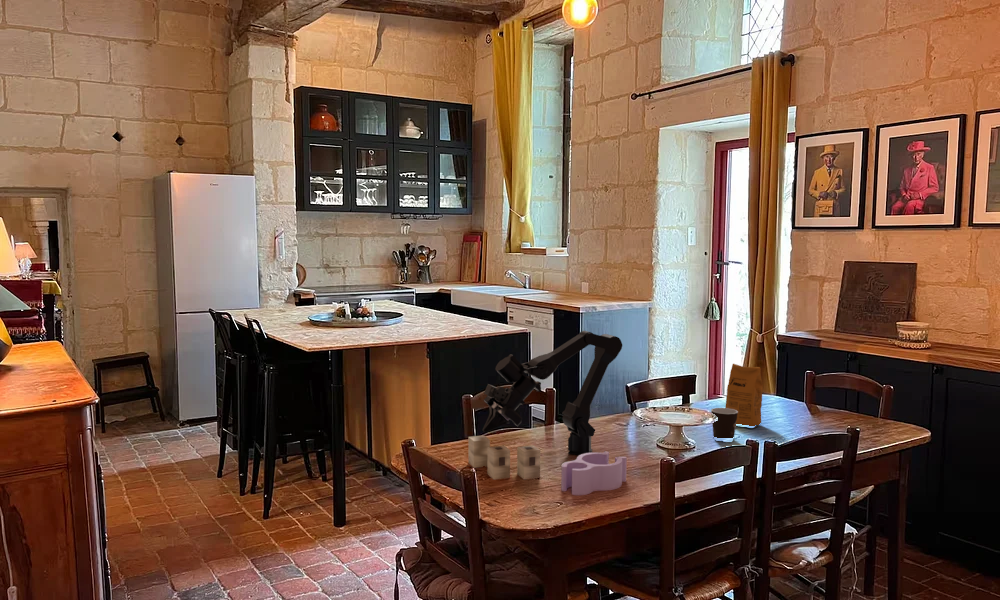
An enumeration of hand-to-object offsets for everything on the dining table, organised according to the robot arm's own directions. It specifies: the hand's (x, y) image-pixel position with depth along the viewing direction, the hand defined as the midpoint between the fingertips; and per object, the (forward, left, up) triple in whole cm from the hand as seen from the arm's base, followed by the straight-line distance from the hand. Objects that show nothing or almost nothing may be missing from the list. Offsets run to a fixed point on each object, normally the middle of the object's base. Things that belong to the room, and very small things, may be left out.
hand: (483, 431), depth 222 cm
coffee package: (-73, -75, -10) cm, 105 cm away
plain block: (+1, +1, -10) cm, 10 cm away
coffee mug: (-68, -53, -10) cm, 87 cm away
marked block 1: (-8, +9, -10) cm, 16 cm away
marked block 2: (-16, +6, -10) cm, 20 cm away
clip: (-35, +7, -10) cm, 37 cm away
